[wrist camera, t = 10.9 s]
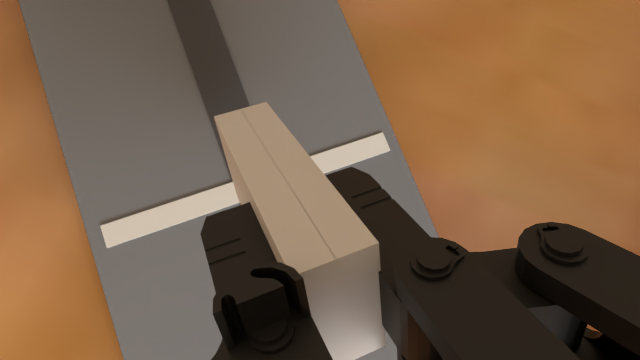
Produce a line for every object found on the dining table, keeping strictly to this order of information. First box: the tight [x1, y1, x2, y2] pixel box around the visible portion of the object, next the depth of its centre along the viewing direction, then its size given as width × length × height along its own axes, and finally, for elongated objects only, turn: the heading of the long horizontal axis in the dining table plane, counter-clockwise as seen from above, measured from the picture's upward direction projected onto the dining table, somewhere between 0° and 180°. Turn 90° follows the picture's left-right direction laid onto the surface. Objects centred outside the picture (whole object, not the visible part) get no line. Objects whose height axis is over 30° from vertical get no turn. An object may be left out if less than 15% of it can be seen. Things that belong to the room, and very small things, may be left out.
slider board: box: [18, 0, 439, 360], centre depth 18 cm, size 32×12×2 cm, turn 21°
